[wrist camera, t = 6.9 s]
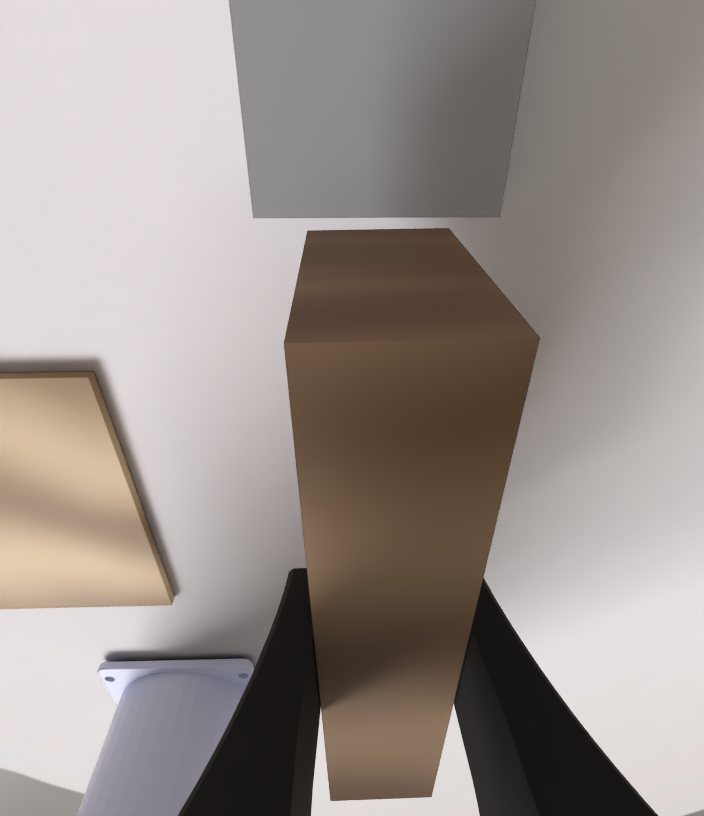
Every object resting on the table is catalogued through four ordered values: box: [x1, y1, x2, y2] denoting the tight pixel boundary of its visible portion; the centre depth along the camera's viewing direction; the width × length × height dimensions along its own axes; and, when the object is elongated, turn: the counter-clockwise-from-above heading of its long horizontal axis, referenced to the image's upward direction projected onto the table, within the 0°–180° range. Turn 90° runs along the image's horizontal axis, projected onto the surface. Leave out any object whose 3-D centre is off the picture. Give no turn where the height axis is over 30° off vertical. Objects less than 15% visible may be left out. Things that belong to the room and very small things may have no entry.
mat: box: [0, 371, 174, 609], centre depth 18 cm, size 12×8×1 cm, turn 1°
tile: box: [229, 0, 536, 218], centre depth 10 cm, size 2×6×6 cm
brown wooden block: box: [284, 228, 540, 801], centre depth 11 cm, size 14×3×5 cm, turn 1°
